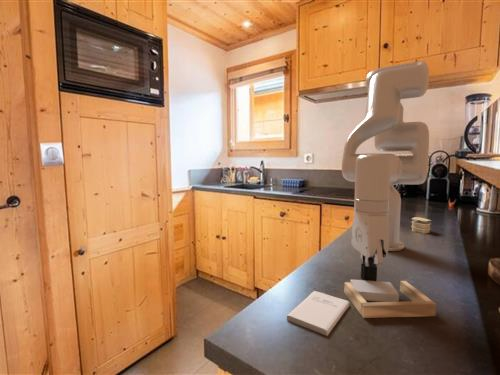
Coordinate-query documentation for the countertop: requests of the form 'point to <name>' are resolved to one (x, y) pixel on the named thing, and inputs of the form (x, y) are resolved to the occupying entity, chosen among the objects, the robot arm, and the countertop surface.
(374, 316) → the pine rack
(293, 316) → the external hard drive
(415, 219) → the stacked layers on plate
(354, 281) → the light grey slab
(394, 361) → the countertop surface
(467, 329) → the countertop surface
